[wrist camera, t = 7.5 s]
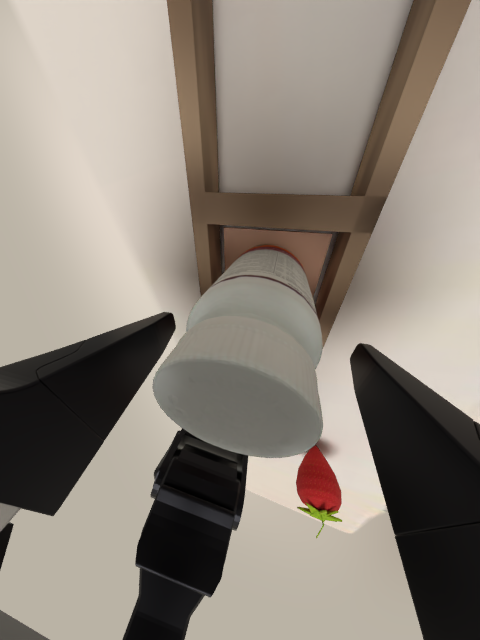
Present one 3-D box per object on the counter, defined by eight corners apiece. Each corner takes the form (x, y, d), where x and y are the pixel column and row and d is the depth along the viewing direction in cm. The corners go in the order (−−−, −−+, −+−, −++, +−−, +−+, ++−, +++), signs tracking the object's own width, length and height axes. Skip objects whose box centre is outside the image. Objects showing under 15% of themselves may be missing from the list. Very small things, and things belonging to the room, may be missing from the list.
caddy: (315, 337, 16) (319, 355, 14) (214, 321, 18) (205, 335, 16) (519, -210, 5) (687, -507, 3) (183, -109, 7) (138, -247, 5)
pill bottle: (269, 324, 16) (247, 473, 7) (218, 284, 15) (117, 402, 6) (323, 278, 13) (409, 451, 4) (262, 222, 12) (182, 283, 3)
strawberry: (295, 452, 31) (298, 537, 23) (293, 432, 28) (296, 526, 19) (331, 458, 30) (347, 553, 22) (334, 437, 26) (355, 544, 18)
